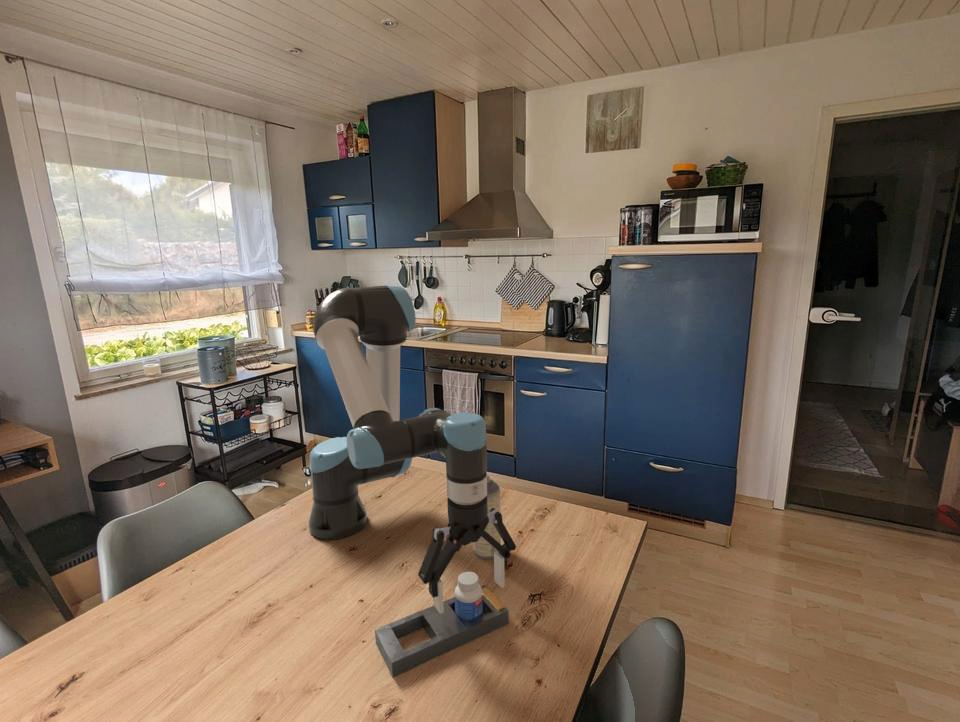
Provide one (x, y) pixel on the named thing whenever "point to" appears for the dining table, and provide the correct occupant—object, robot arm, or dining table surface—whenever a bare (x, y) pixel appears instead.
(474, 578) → the pill bottle
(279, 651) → the dining table surface
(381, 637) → the grey bottle holder tray
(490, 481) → the aerosol can
